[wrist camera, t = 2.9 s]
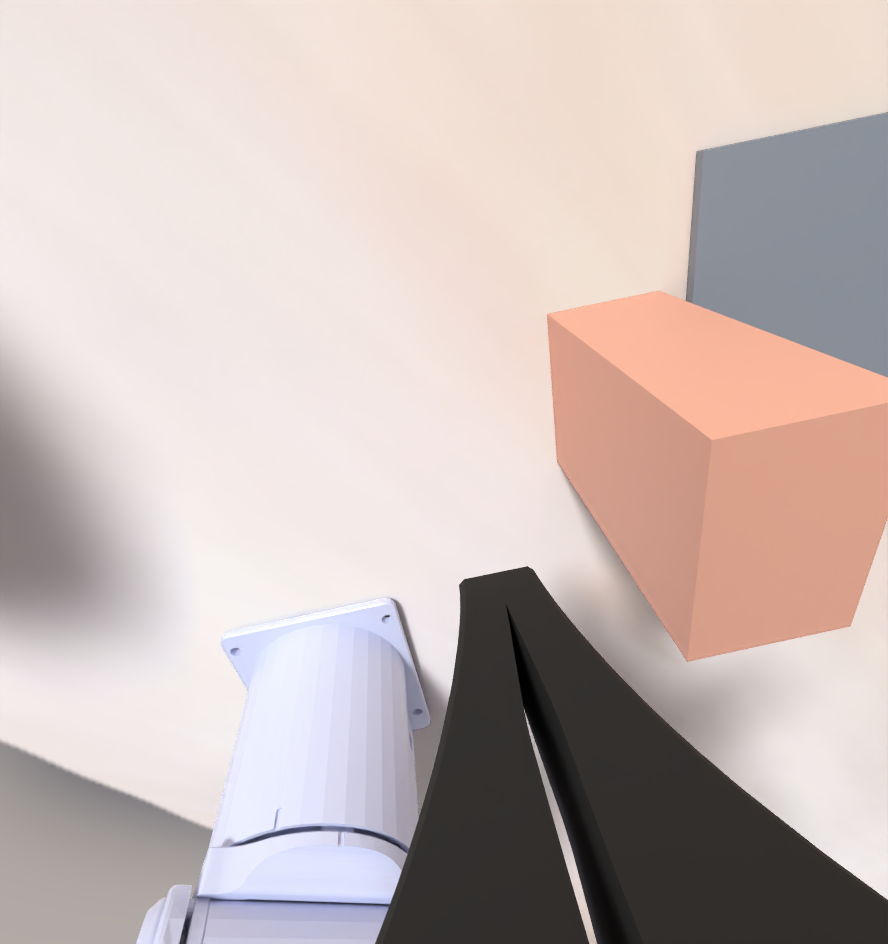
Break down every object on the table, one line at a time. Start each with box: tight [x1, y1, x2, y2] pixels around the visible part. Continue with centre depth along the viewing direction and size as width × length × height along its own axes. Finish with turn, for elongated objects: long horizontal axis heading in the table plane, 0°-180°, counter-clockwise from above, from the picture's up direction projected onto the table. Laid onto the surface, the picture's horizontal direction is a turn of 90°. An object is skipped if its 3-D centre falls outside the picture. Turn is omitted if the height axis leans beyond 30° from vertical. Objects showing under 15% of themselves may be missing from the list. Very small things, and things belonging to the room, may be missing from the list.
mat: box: [686, 112, 888, 377], centre depth 19 cm, size 14×12×1 cm
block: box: [547, 291, 888, 662], centre depth 15 cm, size 6×4×10 cm, turn 10°
